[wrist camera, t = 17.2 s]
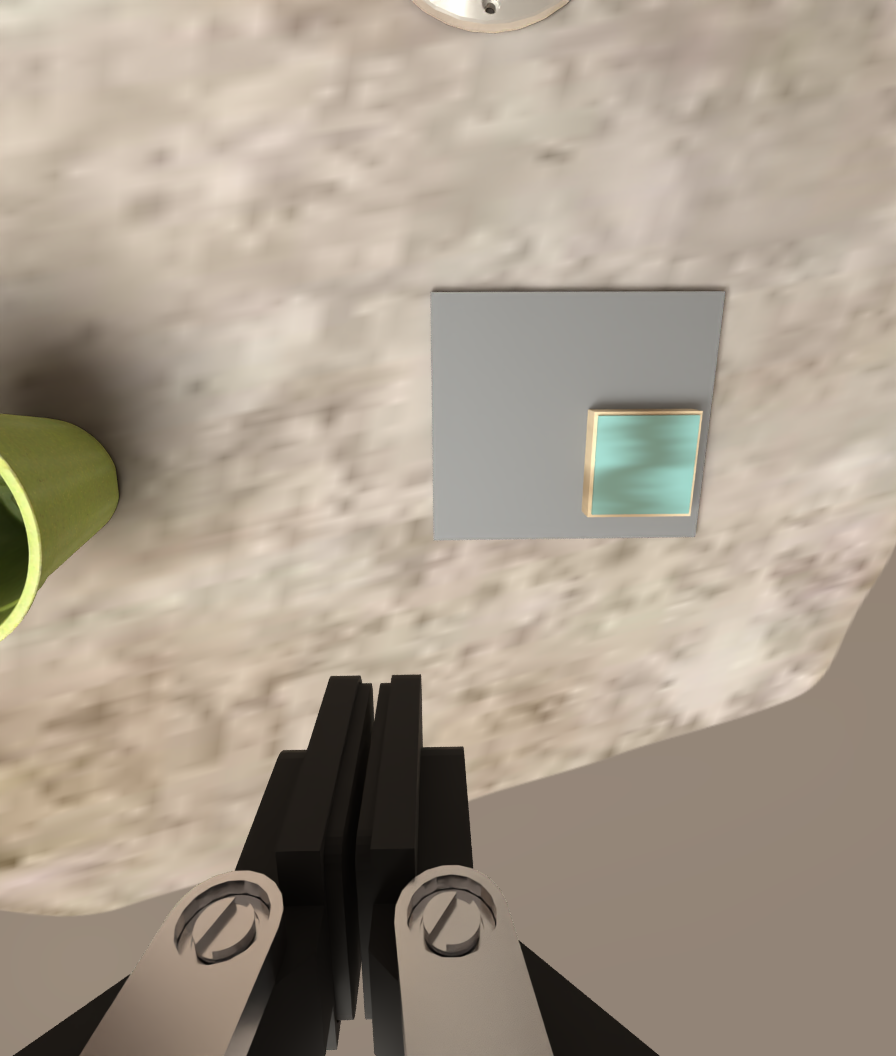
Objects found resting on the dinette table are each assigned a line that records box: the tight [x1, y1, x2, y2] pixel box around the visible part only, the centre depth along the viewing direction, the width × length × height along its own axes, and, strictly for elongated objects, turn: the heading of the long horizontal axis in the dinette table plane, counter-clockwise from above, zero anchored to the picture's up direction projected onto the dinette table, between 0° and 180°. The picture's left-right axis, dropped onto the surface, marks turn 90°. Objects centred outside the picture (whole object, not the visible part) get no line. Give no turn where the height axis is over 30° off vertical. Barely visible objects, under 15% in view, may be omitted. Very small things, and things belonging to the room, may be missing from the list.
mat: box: [431, 291, 725, 540], centre depth 34 cm, size 14×16×1 cm
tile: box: [582, 409, 703, 517], centre depth 34 cm, size 6×2×6 cm
